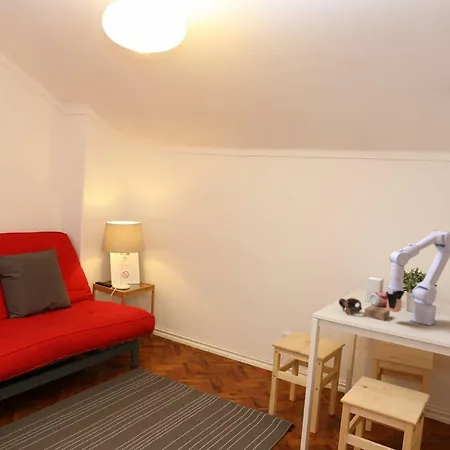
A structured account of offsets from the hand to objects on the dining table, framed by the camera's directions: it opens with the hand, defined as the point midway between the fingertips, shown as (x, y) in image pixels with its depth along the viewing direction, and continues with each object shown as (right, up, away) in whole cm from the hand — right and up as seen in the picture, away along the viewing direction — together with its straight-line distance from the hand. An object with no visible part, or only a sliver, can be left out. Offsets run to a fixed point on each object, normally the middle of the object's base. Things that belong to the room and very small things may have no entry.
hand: (393, 306), depth 219 cm
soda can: (-1, -1, +28) cm, 28 cm away
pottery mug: (-17, -5, +13) cm, 22 cm away
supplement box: (+3, -4, +39) cm, 39 cm away
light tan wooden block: (-5, -7, +9) cm, 12 cm away
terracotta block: (0, -2, 0) cm, 2 cm away
